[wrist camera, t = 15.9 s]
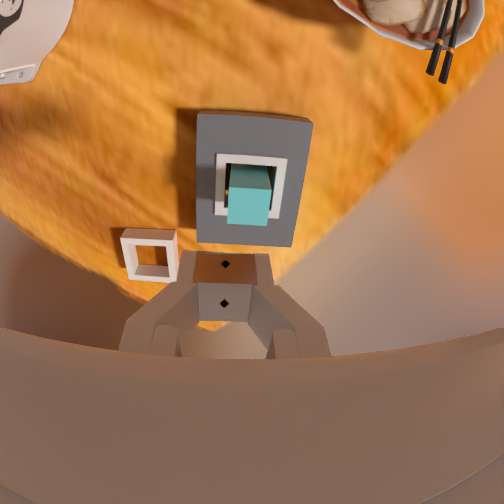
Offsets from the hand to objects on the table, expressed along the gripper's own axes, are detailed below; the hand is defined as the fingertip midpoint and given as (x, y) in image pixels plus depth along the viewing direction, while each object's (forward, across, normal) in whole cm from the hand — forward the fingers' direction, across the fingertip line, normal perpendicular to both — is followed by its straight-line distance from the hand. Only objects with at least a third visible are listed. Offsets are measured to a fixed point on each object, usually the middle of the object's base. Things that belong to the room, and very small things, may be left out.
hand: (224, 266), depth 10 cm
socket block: (+25, -3, +7) cm, 26 cm away
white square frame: (+25, +10, +19) cm, 33 cm away
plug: (+25, -3, +7) cm, 26 cm away
